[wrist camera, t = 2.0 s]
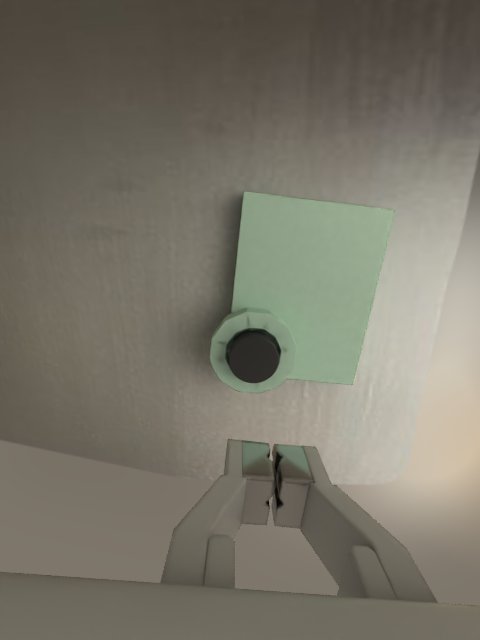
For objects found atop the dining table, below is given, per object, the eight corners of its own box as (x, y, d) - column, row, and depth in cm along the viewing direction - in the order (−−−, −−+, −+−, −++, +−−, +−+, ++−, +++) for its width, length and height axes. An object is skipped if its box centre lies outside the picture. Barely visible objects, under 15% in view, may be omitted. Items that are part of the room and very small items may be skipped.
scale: (211, 371, 23) (206, 388, 20) (226, 193, 19) (224, 182, 16) (344, 385, 23) (360, 403, 20) (384, 212, 20) (410, 205, 17)
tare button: (227, 371, 20) (226, 381, 18) (232, 327, 19) (231, 334, 17) (272, 376, 20) (275, 385, 18) (279, 332, 19) (282, 339, 18)
